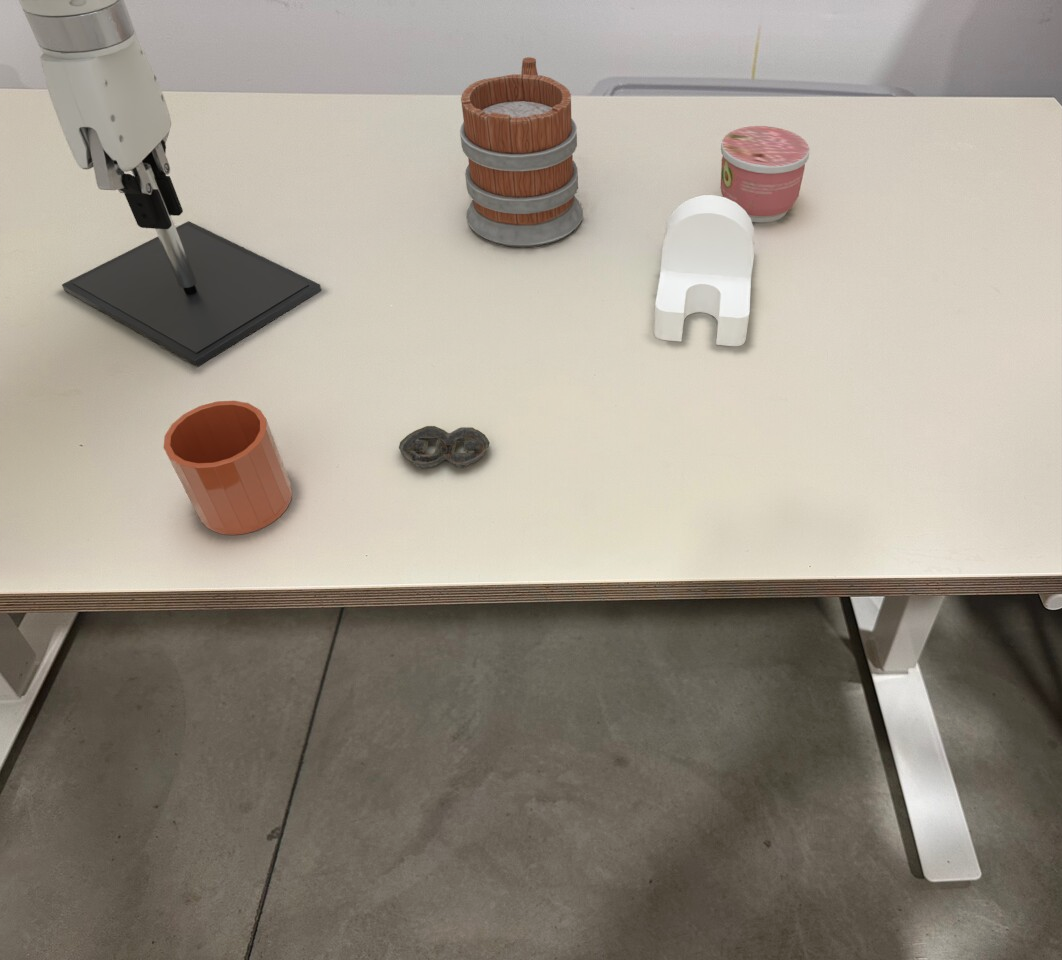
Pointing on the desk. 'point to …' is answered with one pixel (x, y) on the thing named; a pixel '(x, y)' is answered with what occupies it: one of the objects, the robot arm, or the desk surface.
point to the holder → (229, 466)
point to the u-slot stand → (706, 269)
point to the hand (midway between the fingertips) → (161, 219)
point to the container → (763, 170)
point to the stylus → (173, 246)
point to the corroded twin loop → (444, 446)
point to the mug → (520, 158)
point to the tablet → (193, 319)
